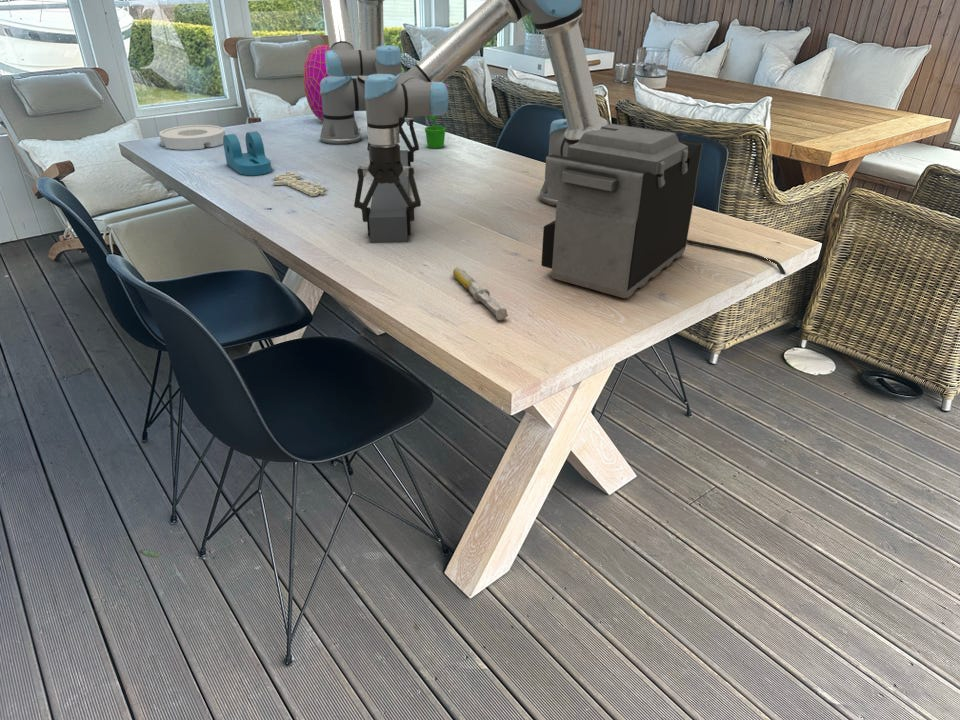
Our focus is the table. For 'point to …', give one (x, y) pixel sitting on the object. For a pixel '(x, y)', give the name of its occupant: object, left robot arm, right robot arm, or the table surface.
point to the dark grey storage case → (619, 207)
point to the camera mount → (246, 154)
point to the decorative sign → (299, 184)
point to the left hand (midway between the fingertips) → (394, 172)
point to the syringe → (479, 293)
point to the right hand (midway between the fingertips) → (389, 233)
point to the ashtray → (192, 137)
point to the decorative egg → (315, 78)
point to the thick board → (389, 210)
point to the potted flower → (435, 133)
